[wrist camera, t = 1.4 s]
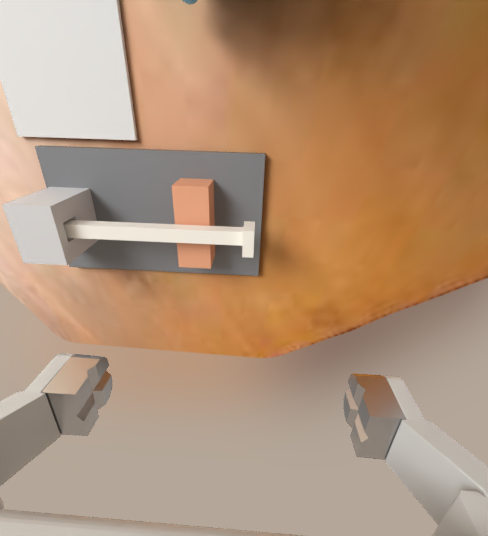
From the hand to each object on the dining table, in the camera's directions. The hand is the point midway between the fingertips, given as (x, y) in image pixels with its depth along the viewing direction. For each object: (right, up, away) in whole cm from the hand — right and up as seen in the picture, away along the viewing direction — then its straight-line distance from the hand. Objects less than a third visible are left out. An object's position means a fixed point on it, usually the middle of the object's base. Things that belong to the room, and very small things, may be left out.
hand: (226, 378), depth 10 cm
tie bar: (-10, +8, +24) cm, 27 cm away
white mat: (-19, +25, +22) cm, 38 cm away
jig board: (-11, +11, +29) cm, 32 cm away
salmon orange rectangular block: (-5, +10, +28) cm, 30 cm away
